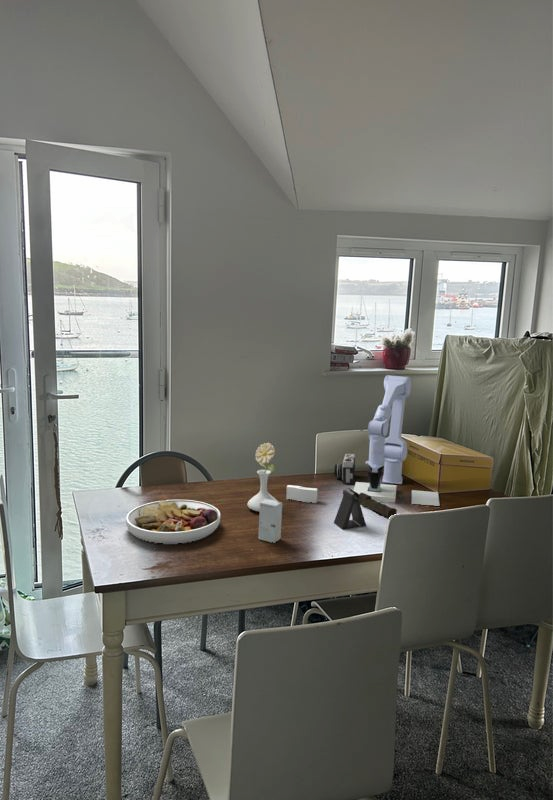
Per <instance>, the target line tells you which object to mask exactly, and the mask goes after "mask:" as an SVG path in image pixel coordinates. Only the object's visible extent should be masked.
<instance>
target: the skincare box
mask: <svg viewBox="0 0 553 800" xmlns="http://www.w3.org/2000/svg"><path fill="white" fill-rule="evenodd" d="M258 515H259V516H258V517H259V518H258V536H257V538H258V540H261V541H264V542H268V543H272V542H273V544H274V543H276V541H277V542H278V541H280V540H281V538H282V536H281V535H282V519H283V518H282V517H283V502H281V501H278V500H277V501H275V500H269V499H265V500H263V501H262V502H260V511H259V514H258Z"/></svg>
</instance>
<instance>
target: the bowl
mask: <svg viewBox="0 0 553 800" xmlns="http://www.w3.org/2000/svg"><path fill="white" fill-rule="evenodd" d="M125 523H126V527H127V529H128V531H129V533H130V534H131V535H133V536H134V537H135V538H137V539H139V540H141V539H142V540H141V541H144V540H145V541H144V542H147V541H149V542H148V543H151V542H154V543H153V544H157V543H163V544H162V545H178V543H182V544H188V543H193V542H197V541H199V540H202V539H204V538H207V537H208V536H210V535H212V533H214V532H215V530H217V528H218V527H219V526H220V523H221V512H220V510H219V509H218V508H217V507H215V505H212V504H210V503H206V502H203V501H200V500H199V501H198V500H193V499H166V500H165V499H163V500H158V501H157V500H156V501H151V502H148V503H144V504H141V505H139V506H137V507H135V508H133V509H131V510H130V511H129V512H128V513H127V515H126V516H125ZM192 541H193V542H192ZM187 542H188V543H187Z"/></svg>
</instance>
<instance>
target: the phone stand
mask: <svg viewBox="0 0 553 800" xmlns="http://www.w3.org/2000/svg"><path fill="white" fill-rule="evenodd" d="M353 490H354V489H351V488H350V487H348V488H347V487H345V488H343V491H342V498H341V502H340V504H339V507H338V509H337V512H336V515H335V519H334V521H333V524H335V525H336V526H338V527H339V528H340V529H341V530H349V529H350V530H351V529H356V528H358V529H359V528H363V527H366V526H367V524H366V520H365V517H364V513H363V510H362V506H361V505H360V503H359V498H360V496H359V494H358V493H356V492H355V491H353ZM351 517H352V519H350V518H351Z"/></svg>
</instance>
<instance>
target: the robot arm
mask: <svg viewBox="0 0 553 800" xmlns="http://www.w3.org/2000/svg"><path fill="white" fill-rule="evenodd" d="M383 387H384V391H385V392H384V396H383V399H382V404H379V405H378V406H377V409H376V411H375V414H374V417H373V419H372V420H370V421H369V422H368V425H367V426H368V427H367V433H368V439H369V450H368V460H366V461H365V464H366V465H368V466H369V469H367V474H368V476H369V483H370V482H371V488H372V489H377V488H378V484H379V479H380V477H381V478H382V479H381V483H382V484H393V485H395V484H397V485H402V484H403V476H402V472H403V462H404V461H406V459H407V456H408V442H407V441H406V440H405V439H403V438H402V434H403V433H402V431H403V422H404V414H405V405H406V399H407V398H409V397H410V394H411V389H412V380H411V377H410V376H401V375H399V376H398V375H390V374H387V375H386V376H385V377H384V379H383ZM389 421H390V423H389ZM388 430H389V431H388ZM388 432H389V435H388ZM387 435H388V436H387ZM386 436H387V437H386ZM382 475H383V476H382Z"/></svg>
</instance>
